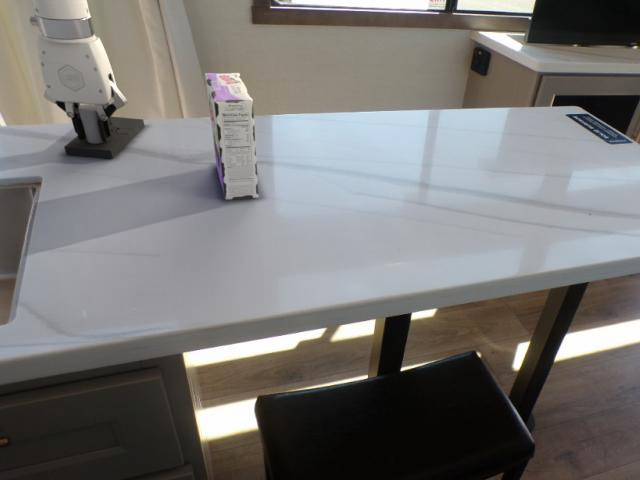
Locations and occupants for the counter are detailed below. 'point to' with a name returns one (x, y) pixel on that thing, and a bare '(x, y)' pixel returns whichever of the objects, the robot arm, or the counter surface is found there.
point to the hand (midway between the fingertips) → (96, 137)
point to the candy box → (233, 134)
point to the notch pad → (128, 126)
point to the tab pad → (98, 148)
